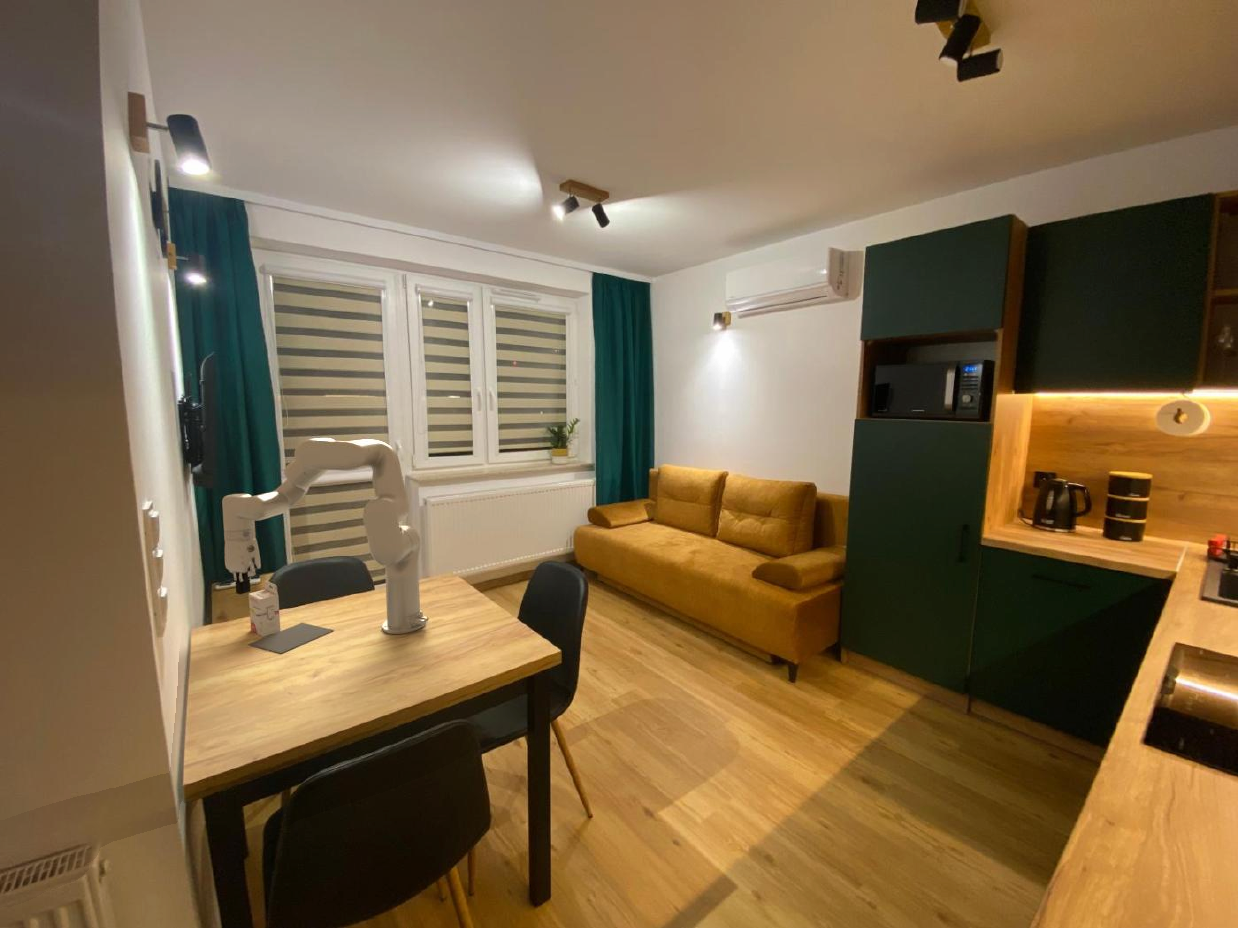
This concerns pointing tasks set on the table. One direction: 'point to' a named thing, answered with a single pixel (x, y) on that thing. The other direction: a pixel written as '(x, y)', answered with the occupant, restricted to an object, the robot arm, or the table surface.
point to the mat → (291, 638)
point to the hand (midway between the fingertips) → (243, 592)
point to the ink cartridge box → (265, 610)
